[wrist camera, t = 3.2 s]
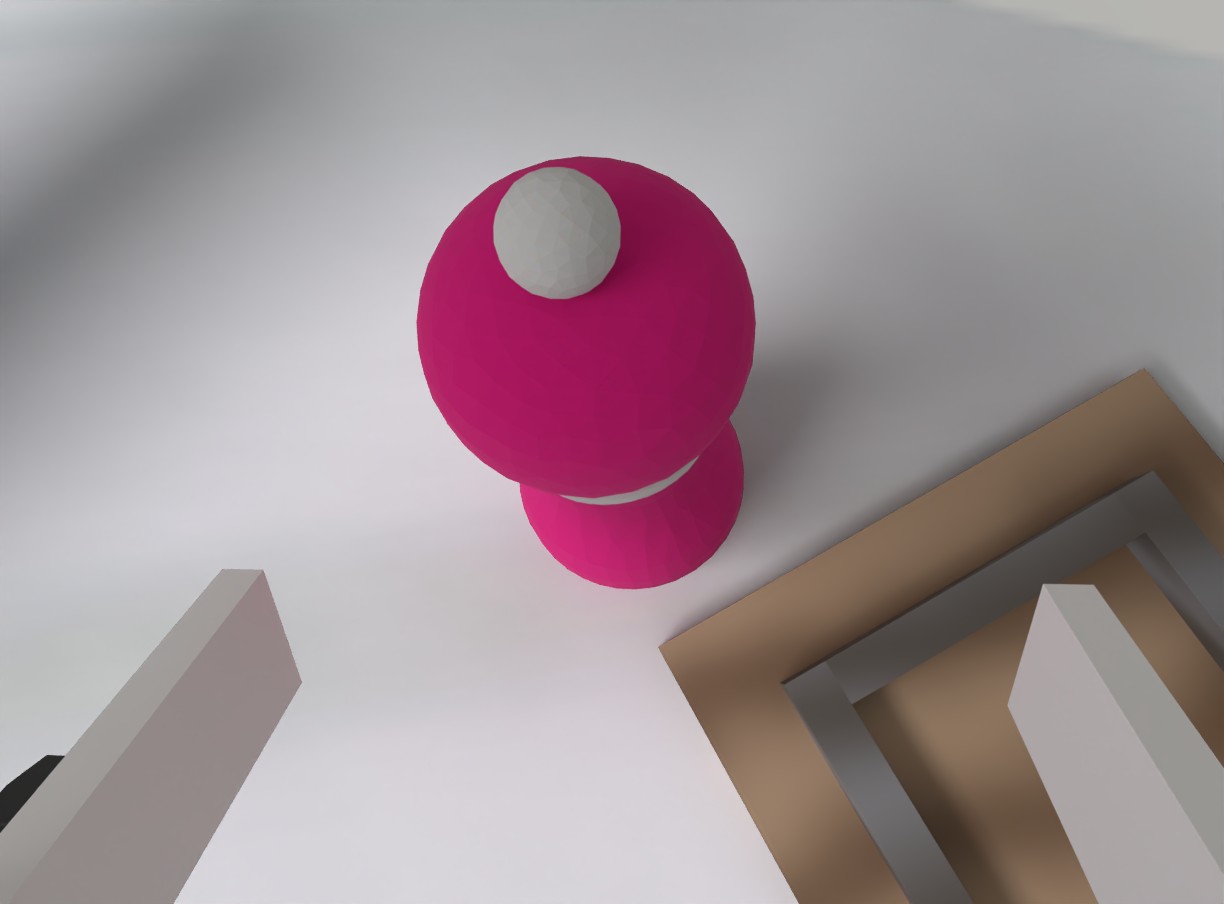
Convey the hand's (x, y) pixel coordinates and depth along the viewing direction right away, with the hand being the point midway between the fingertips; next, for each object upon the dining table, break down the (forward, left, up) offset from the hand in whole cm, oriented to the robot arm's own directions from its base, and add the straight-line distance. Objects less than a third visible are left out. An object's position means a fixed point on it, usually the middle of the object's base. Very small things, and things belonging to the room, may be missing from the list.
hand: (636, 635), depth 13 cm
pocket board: (+10, +10, -15) cm, 20 cm away
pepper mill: (-5, +2, -15) cm, 16 cm away
